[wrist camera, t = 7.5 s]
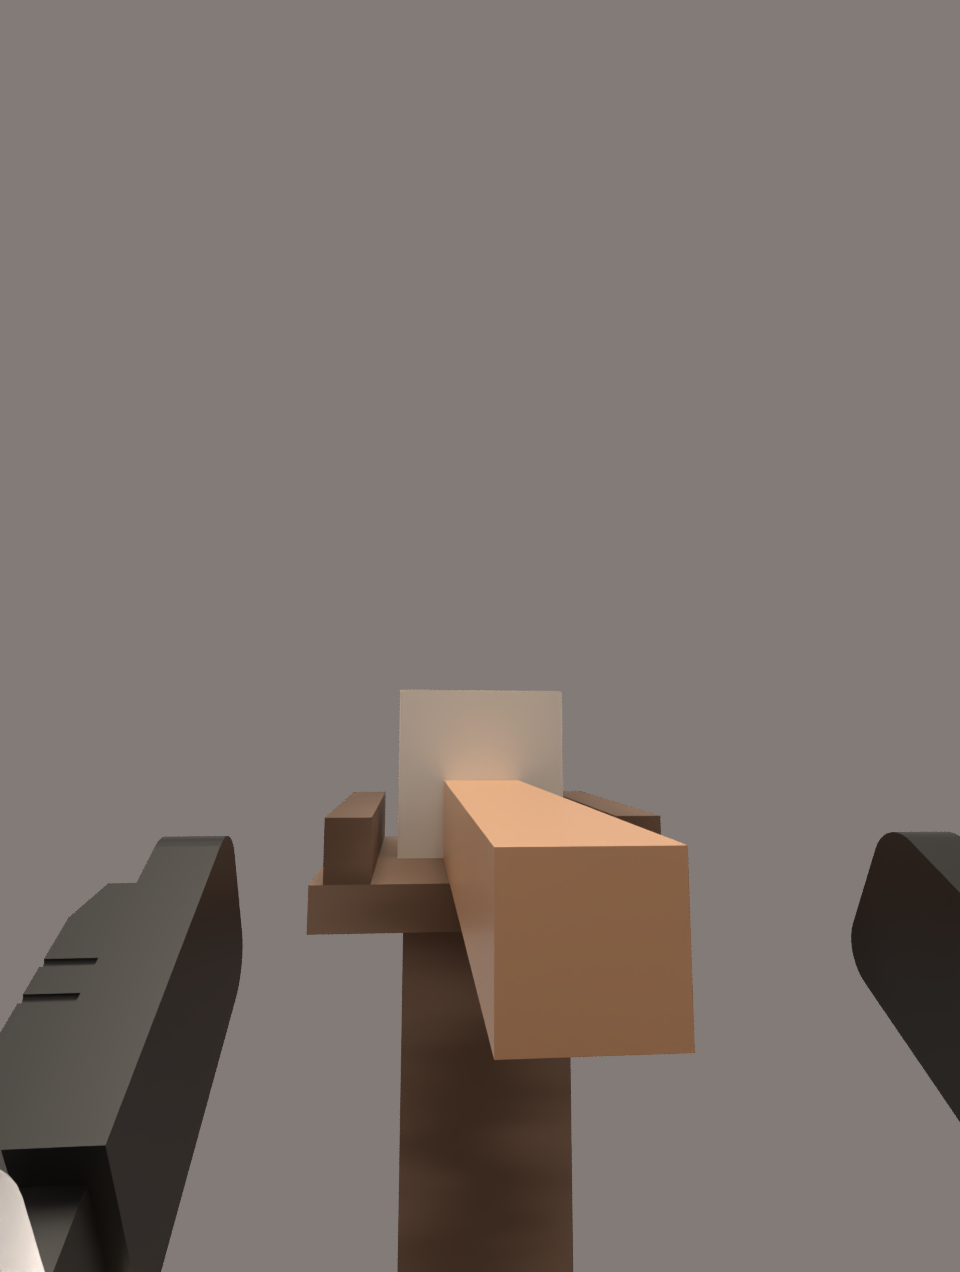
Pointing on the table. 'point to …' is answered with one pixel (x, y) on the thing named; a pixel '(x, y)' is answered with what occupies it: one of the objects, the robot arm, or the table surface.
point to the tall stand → (456, 1065)
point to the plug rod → (545, 882)
